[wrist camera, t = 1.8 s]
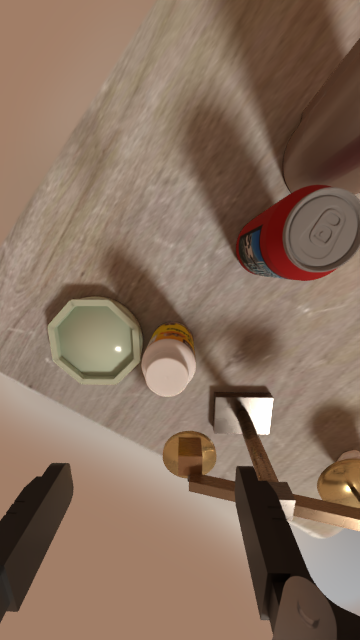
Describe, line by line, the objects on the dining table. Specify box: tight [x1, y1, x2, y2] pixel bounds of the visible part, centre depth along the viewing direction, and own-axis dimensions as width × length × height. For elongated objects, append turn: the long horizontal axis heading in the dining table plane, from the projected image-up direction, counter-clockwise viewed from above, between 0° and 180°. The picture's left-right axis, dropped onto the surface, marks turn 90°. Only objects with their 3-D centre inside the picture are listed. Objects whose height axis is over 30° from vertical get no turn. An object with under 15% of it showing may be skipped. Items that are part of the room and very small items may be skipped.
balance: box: [163, 392, 360, 531], centre depth 24 cm, size 22×6×15 cm, turn 90°
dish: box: [47, 296, 143, 385], centre depth 28 cm, size 12×12×2 cm
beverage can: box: [236, 185, 360, 281], centre depth 20 cm, size 7×7×12 cm
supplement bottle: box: [141, 322, 196, 397], centre depth 24 cm, size 6×6×10 cm
